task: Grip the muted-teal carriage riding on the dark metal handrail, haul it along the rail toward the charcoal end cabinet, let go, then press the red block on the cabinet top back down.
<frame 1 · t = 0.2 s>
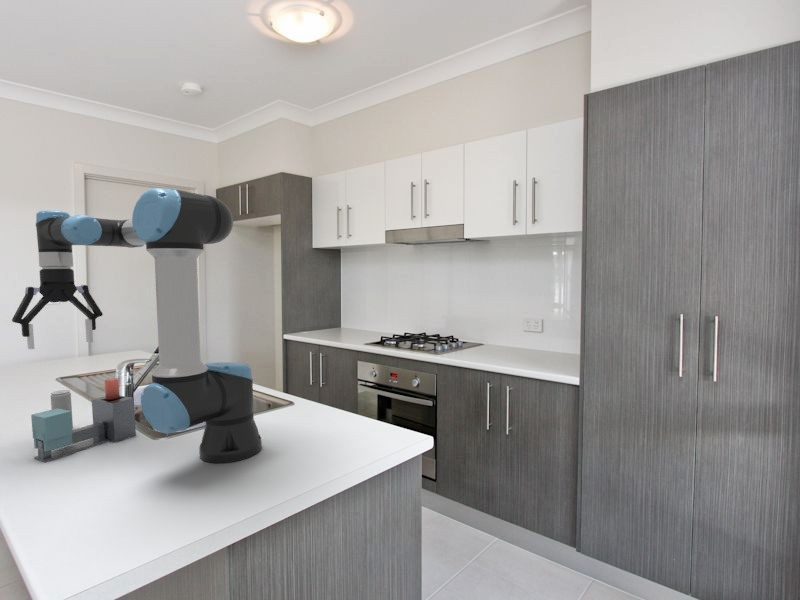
hand: (61, 345, 127), 27 cm above the worktop, fingers open, 13 cm apart
rail station: (81, 447, 124), on the worktop
beverage can: (63, 432, 138), on the worktop
carriage: (52, 429, 118), point 7 cm above the worktop, slide at 0.0 cm
red block: (112, 388, 131), point 14 cm above the worktop, slide at 0.0 cm
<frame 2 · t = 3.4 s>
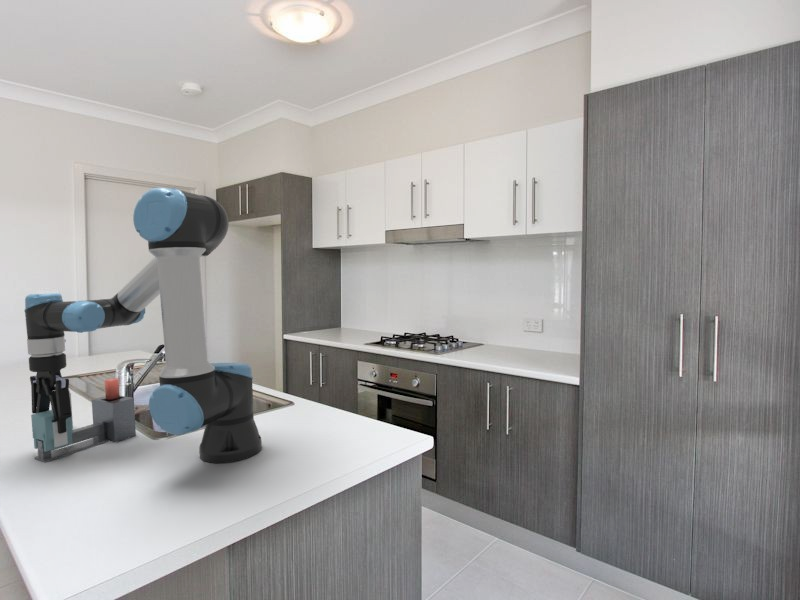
hand: (53, 442, 118), 3 cm above the worktop, fingers closed on carriage, 6 cm apart
carriage: (52, 429, 118), point 7 cm above the worktop, slide at 0.0 cm, touching gripper
everything else where it was.
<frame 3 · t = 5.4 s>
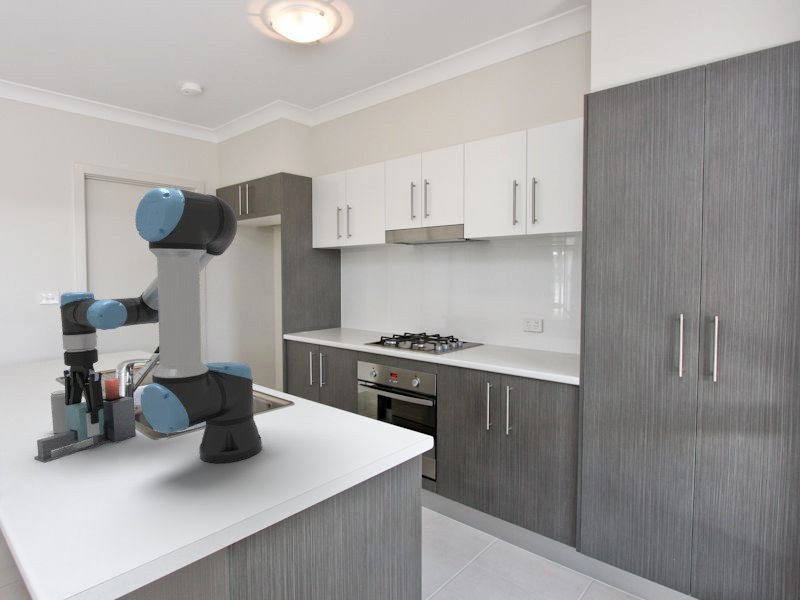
hand: (86, 433, 125), 3 cm above the worktop, fingers closed on carriage, 6 cm apart
carriage: (85, 420, 125), point 7 cm above the worktop, slide at 7.9 cm, touching gripper
everything else where it was.
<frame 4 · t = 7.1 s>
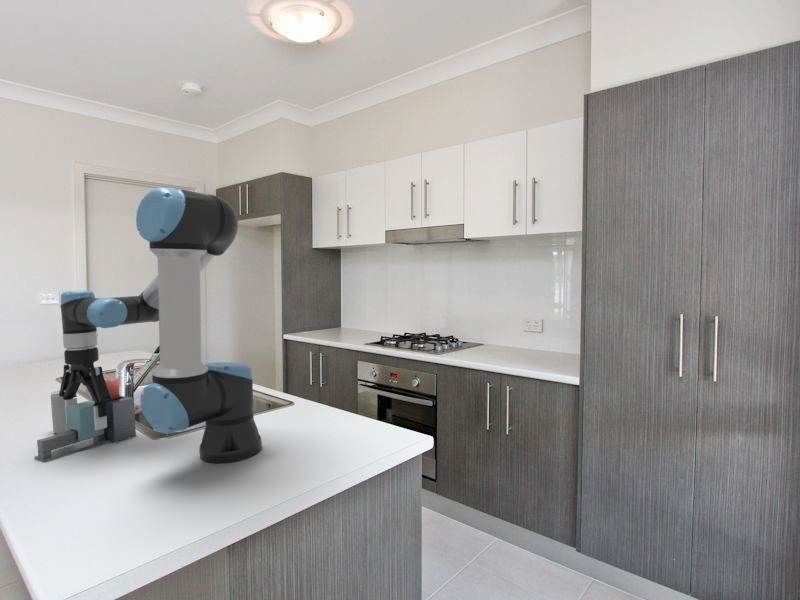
hand: (86, 425, 125), 6 cm above the worktop, fingers open, 13 cm apart
carriage: (85, 420, 125), point 7 cm above the worktop, slide at 8.0 cm
everything else where it was.
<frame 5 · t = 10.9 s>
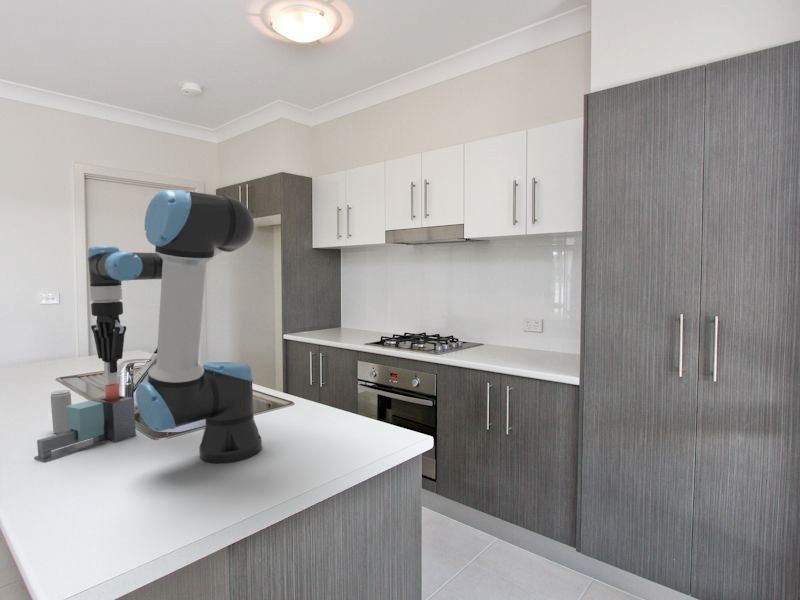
hand: (111, 383, 131), 15 cm above the worktop, fingers closed
red block: (112, 393, 132), point 12 cm above the worktop, slide at 1.4 cm, touching gripper
everything else where it was.
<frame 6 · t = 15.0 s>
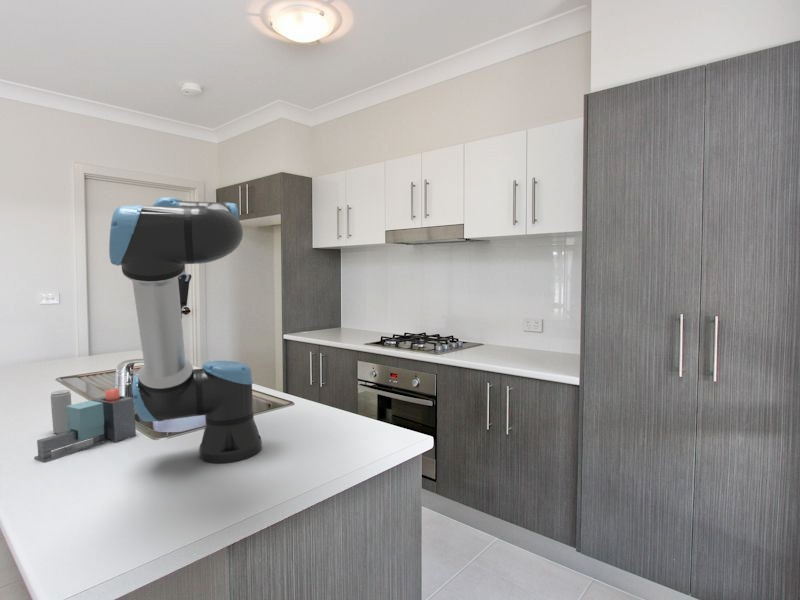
hand: (176, 330, 138), 29 cm above the worktop, fingers closed
red block: (112, 399, 132), point 11 cm above the worktop, slide at 3.0 cm
everything else where it was.
at the end: carriage slide at 8.0 cm; red block slide at 3.0 cm; the gripper is holding nothing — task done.
